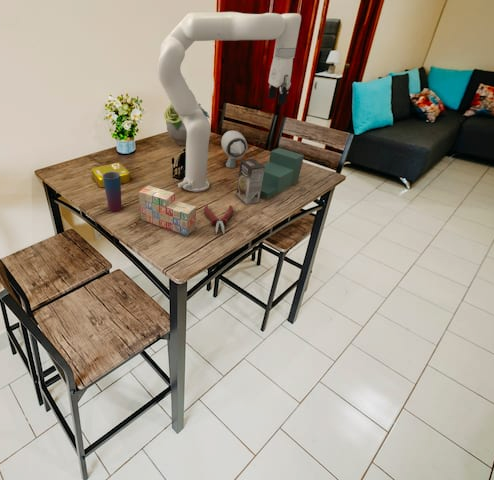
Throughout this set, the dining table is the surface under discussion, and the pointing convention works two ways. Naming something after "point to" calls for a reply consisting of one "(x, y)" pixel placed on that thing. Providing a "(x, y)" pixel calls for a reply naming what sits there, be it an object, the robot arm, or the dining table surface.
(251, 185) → the coffee box
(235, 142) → the white rounded piece
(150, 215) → the stack of blocks
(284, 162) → the step shelf
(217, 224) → the pliers
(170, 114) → the potted succulent plant
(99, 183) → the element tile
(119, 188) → the cup
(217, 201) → the dining table surface
